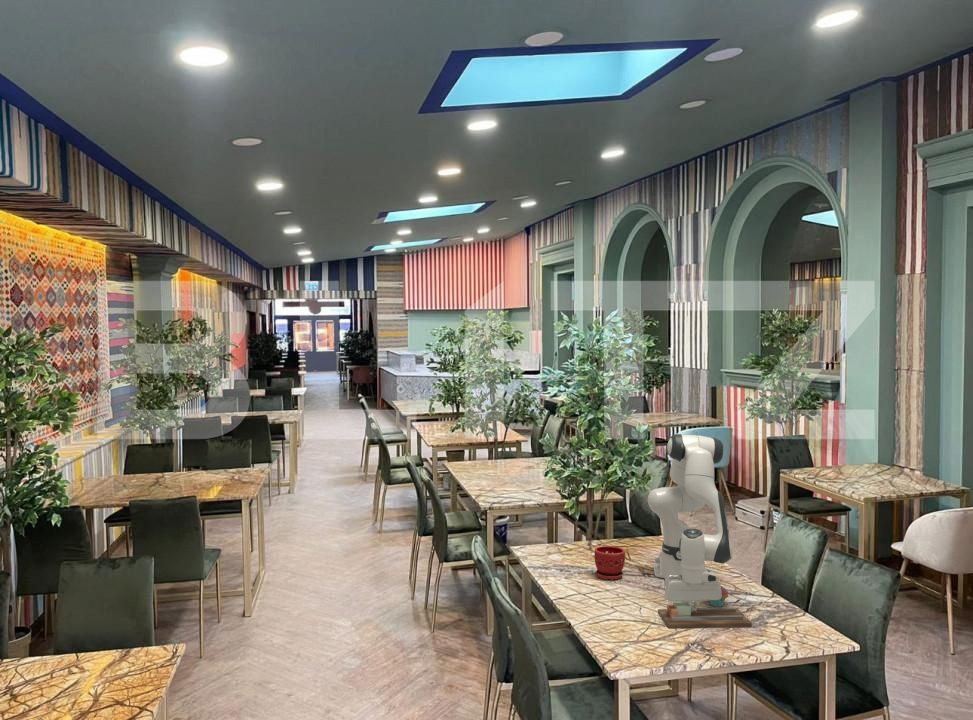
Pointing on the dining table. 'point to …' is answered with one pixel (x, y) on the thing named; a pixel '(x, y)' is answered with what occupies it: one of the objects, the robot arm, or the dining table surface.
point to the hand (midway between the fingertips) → (693, 611)
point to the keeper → (683, 608)
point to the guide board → (704, 618)
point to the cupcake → (720, 602)
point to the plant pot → (609, 562)
